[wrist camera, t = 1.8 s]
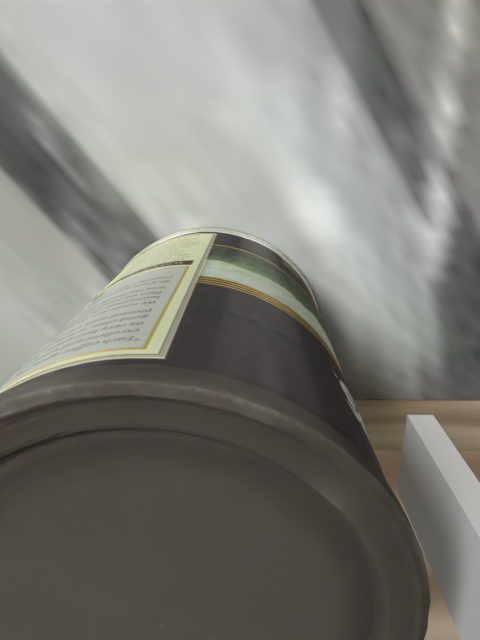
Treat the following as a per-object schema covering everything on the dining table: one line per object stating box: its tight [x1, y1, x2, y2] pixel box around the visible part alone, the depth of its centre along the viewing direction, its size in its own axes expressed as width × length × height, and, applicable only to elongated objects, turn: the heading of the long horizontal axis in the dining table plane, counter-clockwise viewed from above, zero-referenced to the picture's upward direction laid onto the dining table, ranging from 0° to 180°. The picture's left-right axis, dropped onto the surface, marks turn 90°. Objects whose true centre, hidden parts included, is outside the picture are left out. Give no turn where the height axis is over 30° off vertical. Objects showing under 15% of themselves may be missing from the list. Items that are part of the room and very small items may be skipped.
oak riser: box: [354, 400, 480, 640], centre depth 23 cm, size 15×15×4 cm
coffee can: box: [0, 228, 430, 640], centre depth 15 cm, size 10×10×14 cm
